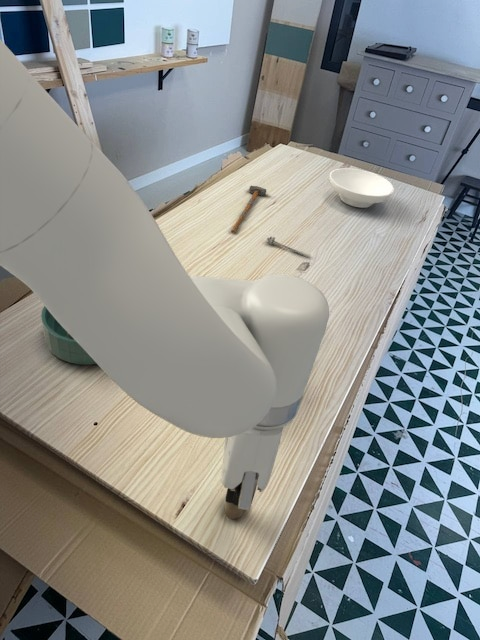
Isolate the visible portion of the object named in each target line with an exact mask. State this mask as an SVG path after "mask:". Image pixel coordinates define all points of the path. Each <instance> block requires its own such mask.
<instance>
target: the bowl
mask: <svg viewBox="0 0 480 640" xmlns="http://www.w3.org/2000/svg"><path fill="white" fill-rule="evenodd" d="M329 183H330V185H331V187H332V189H333V190H334V191H335V192H336V193H337V194H338V195H339V198H340V200H341V201H342V202H343V203H345V204H347V205H348V206H351V207H355V208H363V209H364V208H369V207H371V206H372V205H374V204H378V203H382V202H385V201H386V200H387V199H389V198H390V197H391V196H392V195H393V193H394V191H395V186H394V185H393V184H392V182H390V181H389V180H388V179H386V178H385V177H383V176H382V175H380V174H378V173H377V174H376V173H374V172H372V171H368V170H365V169H360V168H354V167H353V168H352V167H341V168H336V169H333V170H331V171H330V172H329Z"/></svg>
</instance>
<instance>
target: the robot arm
mask: <svg viewBox="0 0 480 640" xmlns="http://www.w3.org/2000/svg"><path fill="white" fill-rule="evenodd" d="M83 131H84V130H82V129H81V128H80V127H79V126H78V125H77V123H75V122H74V120H73V119H72V118H71V117H70V116H69V114H68V113H67V112H65V110H64V109H63V108H62V107H61V106H60V104H58V102H57V101H56V100H55V99H54V98H53V97H52V96H51V95H50V94H49V93H48V91H47V90H46V89H45V88H44V87H43V86H42V84H41V83H40V82H39V81H38V80H37V79H36V78H35V77H34V76H33V75H32V73H30V71H29V70H28V68H27V67H26V66H25V65H24V63H22V62H21V61H20V59H19V58H18V57H17V56H16V55H15V54H14V53H13V52H12V50H11V49H9V47H8V46H7V45H6V43H4V41H3V40H2V39H0V267H1V268H3V269H4V270H6V271H7V272H9V273H10V274H11V275H13V276H14V277H16V278H17V279H18V280H20V282H22V283H23V284H25V286H27V287H28V289H30V290H31V291H32V292H33V294H34V295H36V297H37V298H38V299H39V301H40V302H41V303H42V305H43V307H44V306H45V307H46V308H47V309H48V311H49V312H50V313H51V314H52V316H53V317H54V318H55V319H56V320H57V321H58V323H59V324H60V325H61V326H62V327H63V328H64V329H65V330H66V331H67V332H68V333H69V334H70V335H71V336H72V337H73V338H74V340H75V341H76V342H77V343H78V344H79V345H80V346H81V347H82V348H83V349H84V350H85V351H86V352H87V353H88V354H89V355H90V357H91V358H92V359H93V360H94V361H95V362H96V363H97V364H96V365H98V367H100V369H101V370H102V371H103V372H104V373H105V374H106V375H107V376H108V377H109V378H110V379H111V380H112V381H113V382H114V384H115V385H117V386H118V388H120V389H121V390H122V391H123V392H124V393H125V394H126V395H127V396H129V397H130V398H131V399H132V400H134V401H135V403H137V404H138V405H139V406H140V407H142V408H144V409H145V410H146V411H148V412H150V413H152V414H153V415H155V416H157V417H159V418H160V419H162V420H164V421H165V422H167V423H169V424H171V425H173V426H175V427H176V428H178V429H180V430H182V431H184V432H186V433H189V434H191V435H195V436H198V437H203V438H207V439H208V438H209V439H224V446H223V456H222V467H221V476H220V477H221V484H222V486H223V488H225V489H226V494H225V503H226V502H228V503H233V504H234V505H236V506H239V509H243V511H244V510H245V511H251V509H252V504H253V500H254V498H255V493H256V492H257V491H259V493H262V492H264V490H265V489H266V488H267V486H268V485H269V481H270V479H271V476H272V473H273V469H274V465H275V462H276V459H277V455H278V451H279V448H280V444H281V438H282V435H283V430H284V427H286V426H288V425H289V424H291V423H292V422H293V421H294V420H295V418H296V416H297V414H298V411H299V409H300V406H301V404H302V403H301V402H302V400H303V398H304V394H305V392H306V388H307V385H308V382H309V379H310V376H311V373H312V371H313V368H314V364H315V362H316V359H317V355H318V353H319V350H320V347H321V344H322V340H323V338H324V335H325V332H326V330H327V325H328V323H329V319H330V306H329V303H328V299H327V297H326V296H325V294H324V293H323V292H322V290H320V289H319V288H318V286H316V285H315V284H313V283H311V282H310V281H309V280H306V279H304V278H301V277H299V276H296V275H292V274H285V273H275V274H267V275H265V276H262V277H259V278H257V279H255V280H254V279H237V278H225V277H213V276H205V275H204V276H202V275H189V274H188V272H187V271H186V269H185V267H184V266H183V265H182V262H180V260H179V258H178V257H177V255H176V253H175V251H174V250H173V248H172V247H171V245H170V243H169V242H168V240H167V239H166V236H165V234H164V233H163V230H161V227H160V226H159V224H158V223H157V221H156V220H155V217H154V216H153V214H152V213H151V212H150V210H149V209H148V207H147V206H146V204H145V202H144V201H143V200H142V198H141V197H140V195H139V194H138V193H137V191H136V190H135V189H134V188H133V186H132V185H131V183H130V182H129V181H128V179H127V178H126V177H125V176H124V174H123V173H122V172H121V171H120V170H119V169H118V168H117V166H116V165H114V164H113V162H112V161H111V160H110V159H109V157H107V156H106V155H105V153H104V152H103V151H102V150H100V148H99V147H98V146H97V145H96V144H95V143H94V142H93V140H92V139H90V137H89V136H88V135H86V133H85V132H83ZM256 490H257V491H256Z"/></svg>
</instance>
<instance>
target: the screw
mask: <svg viewBox="0 0 480 640" xmlns="http://www.w3.org/2000/svg"><path fill="white" fill-rule="evenodd" d="M275 239H276V237H274V236H271V235H270V237H269V236H268V237H267V238H266V241H267V244H269V245H270V246H271V245H273V244H277V245H278V246H281V247H283V248H286V249H288V250H290V251H292V252H294V253H297V254H299V255H301V256H303V257H306V258H309V255H308V254H305V253H303V252H301V251H298V250H296V249H294V248H292V247H289V246H287V245H285V244H282V243H280V242H278V241H275Z"/></svg>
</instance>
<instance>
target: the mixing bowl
mask: <svg viewBox="0 0 480 640" xmlns="http://www.w3.org/2000/svg"><path fill="white" fill-rule="evenodd" d="M40 320H41V325H42V330H43V337H44V341H45V345H46V347H47V349H48V350H49V351H50V352H51V354H52V355H54V356H55V357H56V358H58V359H60V360H62V361H65V362H67V363H69V364H70V363H71V364H77V365H98V364H97V363H96V362H95V361H94V360H93V359H92V358H91V357H90V355H89V354H88V353H87V352H86V351H85V350H84V349H83V348H82V347H81V346H80V345H79V344H78V343H77V342H76V341H75V340H74V339H72V338H70V337H68V335H67V331H66V330H65V329H64V328H63V327H62V326H61V325H60V324H59V323H58V321H57V320H56V319H55V318H54V317H53V316H52V314H51V313H50V312H49V311H48V309H47V308H46V307H45V306H44V305H43V308H42V310H41V316H40Z"/></svg>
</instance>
